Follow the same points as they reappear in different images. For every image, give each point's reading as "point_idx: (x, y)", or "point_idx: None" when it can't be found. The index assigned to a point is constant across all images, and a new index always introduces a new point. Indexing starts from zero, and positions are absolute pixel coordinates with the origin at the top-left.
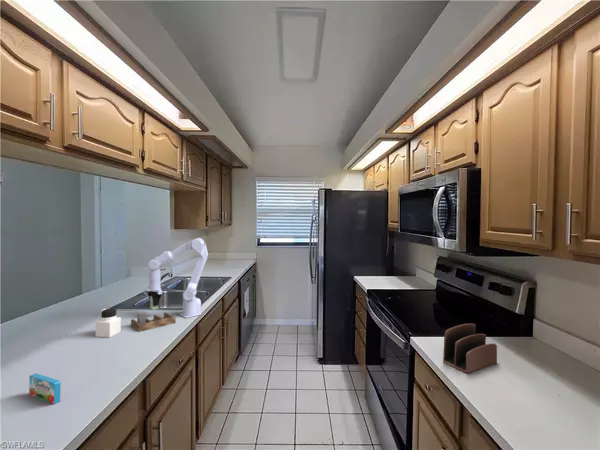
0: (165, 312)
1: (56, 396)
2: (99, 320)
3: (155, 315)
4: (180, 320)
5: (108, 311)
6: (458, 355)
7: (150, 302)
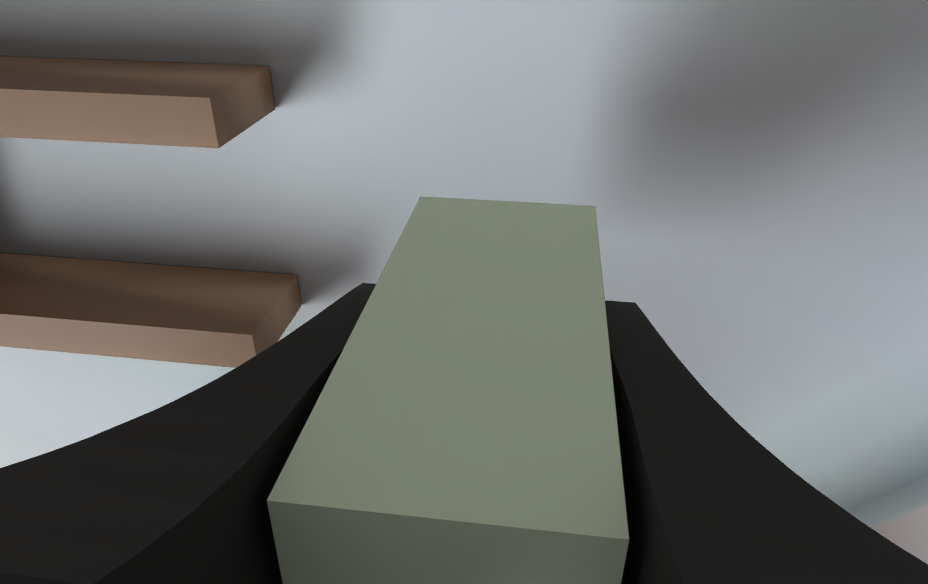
0: (246, 358)
1: None
2: None
3: (130, 109)
4: (24, 378)
5: None
6: None
7: (587, 309)
